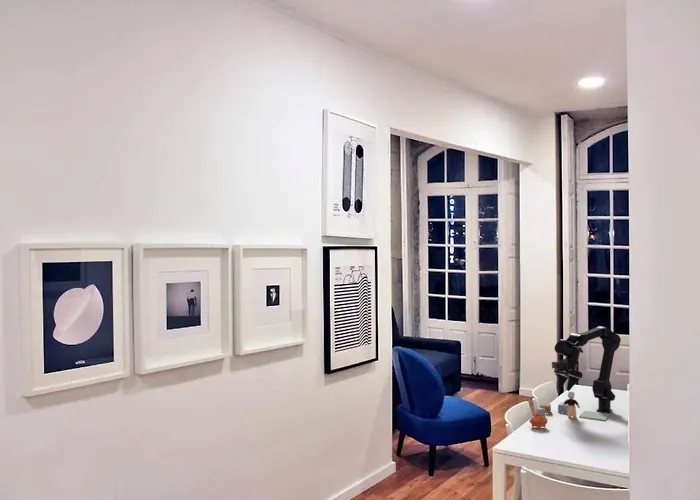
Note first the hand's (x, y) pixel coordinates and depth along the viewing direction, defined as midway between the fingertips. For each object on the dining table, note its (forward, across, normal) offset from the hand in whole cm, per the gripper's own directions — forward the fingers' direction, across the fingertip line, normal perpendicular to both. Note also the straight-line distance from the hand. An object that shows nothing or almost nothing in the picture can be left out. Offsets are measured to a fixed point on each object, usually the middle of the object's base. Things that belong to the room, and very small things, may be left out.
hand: (563, 390), depth 298 cm
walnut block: (+13, -14, 0) cm, 19 cm away
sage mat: (+7, -4, +21) cm, 22 cm away
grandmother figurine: (+12, -3, +9) cm, 15 cm away
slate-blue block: (+9, -15, +10) cm, 20 cm away
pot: (+21, +11, -12) cm, 27 cm away
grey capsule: (+16, -7, -4) cm, 18 cm away
